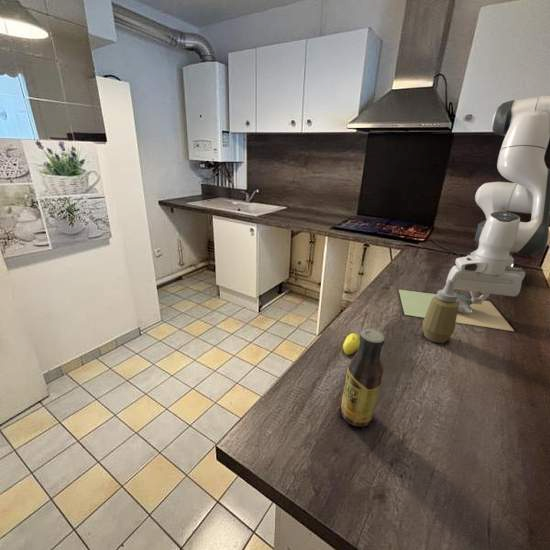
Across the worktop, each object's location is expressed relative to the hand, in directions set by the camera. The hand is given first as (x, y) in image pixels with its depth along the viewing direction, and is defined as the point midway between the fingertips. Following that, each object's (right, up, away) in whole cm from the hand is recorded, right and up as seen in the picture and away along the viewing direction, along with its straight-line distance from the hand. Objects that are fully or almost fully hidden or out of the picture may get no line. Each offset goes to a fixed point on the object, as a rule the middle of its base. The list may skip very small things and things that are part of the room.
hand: (475, 303), depth 97 cm
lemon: (-47, -11, -19) cm, 52 cm away
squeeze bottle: (-21, -9, -13) cm, 26 cm away
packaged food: (-7, -2, +3) cm, 8 cm away
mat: (-7, -2, +3) cm, 7 cm away
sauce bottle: (-51, -19, -39) cm, 67 cm away
